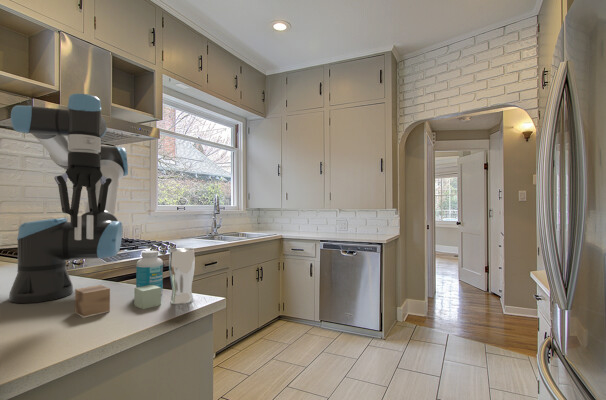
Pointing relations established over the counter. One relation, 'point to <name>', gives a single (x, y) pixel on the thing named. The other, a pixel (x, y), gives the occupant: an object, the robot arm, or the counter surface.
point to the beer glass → (181, 274)
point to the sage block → (147, 296)
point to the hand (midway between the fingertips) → (83, 239)
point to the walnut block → (92, 300)
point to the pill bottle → (149, 270)
